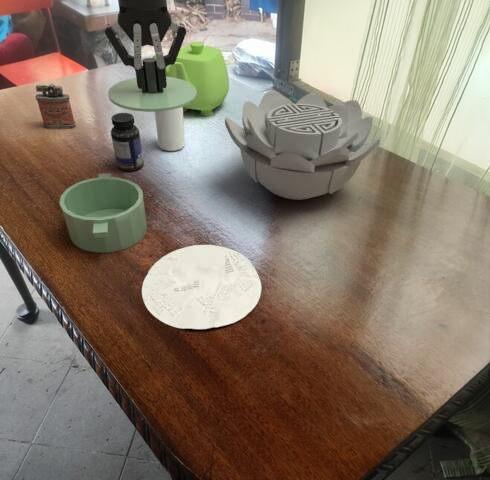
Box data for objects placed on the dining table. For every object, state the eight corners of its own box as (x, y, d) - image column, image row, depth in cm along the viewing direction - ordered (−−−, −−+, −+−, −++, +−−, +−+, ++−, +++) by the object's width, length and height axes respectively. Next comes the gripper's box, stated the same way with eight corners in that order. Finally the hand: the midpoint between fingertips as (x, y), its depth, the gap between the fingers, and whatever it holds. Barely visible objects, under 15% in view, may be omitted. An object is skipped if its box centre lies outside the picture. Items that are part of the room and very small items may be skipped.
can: (175, 154, 109) (170, 102, 100) (153, 147, 111) (147, 96, 102) (190, 144, 113) (187, 93, 104) (168, 138, 115) (164, 87, 106)
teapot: (171, 86, 139) (166, 26, 127) (238, 97, 135) (239, 36, 123) (133, 117, 123) (123, 51, 111) (207, 130, 118) (205, 63, 107)
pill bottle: (136, 157, 107) (129, 109, 99) (148, 167, 104) (142, 118, 96) (112, 163, 105) (103, 115, 97) (124, 174, 101) (115, 125, 93)
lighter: (77, 123, 119) (67, 82, 111) (74, 129, 116) (64, 87, 109) (45, 123, 118) (34, 82, 111) (42, 129, 116) (30, 87, 109)
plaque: (209, 236, 86) (208, 229, 85) (285, 291, 77) (286, 284, 75) (119, 286, 77) (117, 279, 76) (193, 355, 68) (192, 348, 66)
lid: (107, 117, 75) (99, 77, 71) (110, 83, 86) (104, 46, 81) (201, 113, 77) (199, 74, 73) (193, 81, 88) (191, 45, 83)
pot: (64, 265, 79) (53, 231, 74) (74, 203, 93) (65, 172, 88) (148, 258, 81) (143, 225, 76) (146, 199, 95) (142, 168, 90)
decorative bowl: (320, 145, 115) (331, 81, 104) (388, 205, 96) (409, 135, 85) (208, 163, 106) (206, 96, 95) (259, 233, 88) (264, 160, 77)
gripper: (183, -37, 71) (190, 82, 84) (92, -37, 70) (113, 84, 82) (187, -27, 66) (193, 97, 79) (89, -28, 65) (111, 99, 77)
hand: (152, 90), depth 81 cm, fingers closed on lid, 2 cm apart
